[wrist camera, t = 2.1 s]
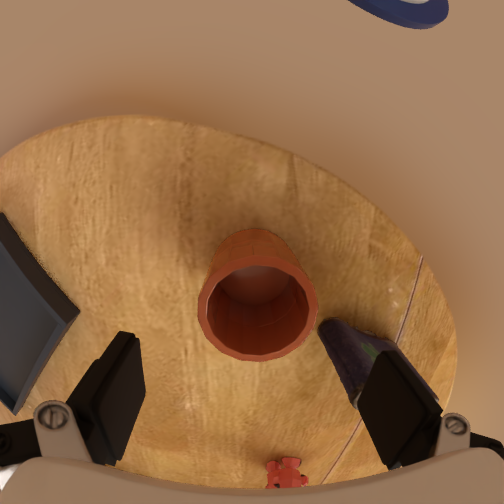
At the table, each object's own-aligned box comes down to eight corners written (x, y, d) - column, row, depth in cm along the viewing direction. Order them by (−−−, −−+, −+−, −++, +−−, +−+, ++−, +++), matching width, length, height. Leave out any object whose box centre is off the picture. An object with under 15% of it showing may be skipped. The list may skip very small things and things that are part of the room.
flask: (399, 341, 23) (455, 413, 13) (382, 364, 24) (429, 440, 13) (327, 311, 22) (378, 402, 11) (309, 338, 22) (344, 435, 12)
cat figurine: (267, 477, 29) (272, 543, 18) (245, 459, 27) (247, 536, 16) (313, 464, 29) (328, 532, 17) (297, 445, 27) (312, 525, 15)
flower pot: (215, 224, 20) (200, 249, 13) (300, 233, 20) (328, 263, 13) (209, 302, 21) (196, 356, 14) (287, 310, 22) (304, 364, 15)
